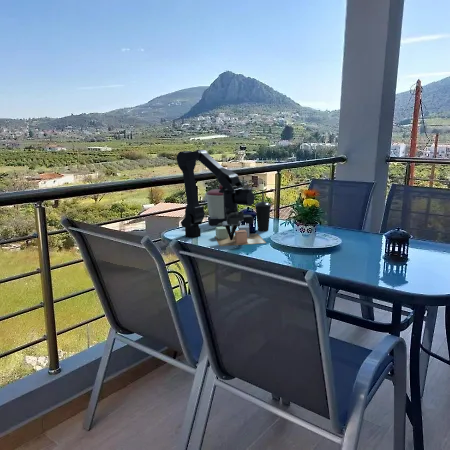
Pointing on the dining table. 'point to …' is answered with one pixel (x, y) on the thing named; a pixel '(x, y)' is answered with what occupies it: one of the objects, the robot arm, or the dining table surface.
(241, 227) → the slate block
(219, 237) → the sage block
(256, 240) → the board
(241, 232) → the terracotta block
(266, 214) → the drinking cup
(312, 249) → the dining table surface
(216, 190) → the canister
